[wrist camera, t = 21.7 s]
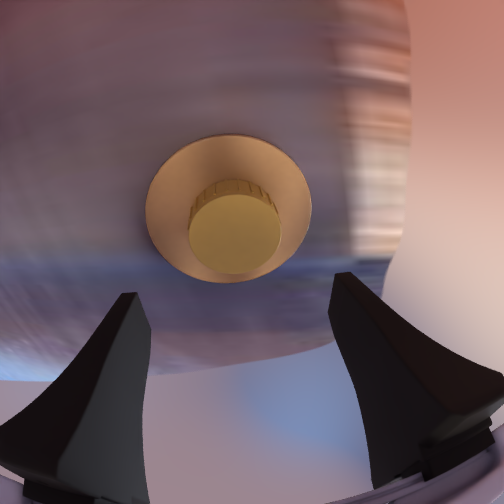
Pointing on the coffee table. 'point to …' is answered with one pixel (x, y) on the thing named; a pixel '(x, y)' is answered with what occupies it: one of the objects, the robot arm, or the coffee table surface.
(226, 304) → the coffee table surface
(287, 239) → the coaster
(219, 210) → the lid
